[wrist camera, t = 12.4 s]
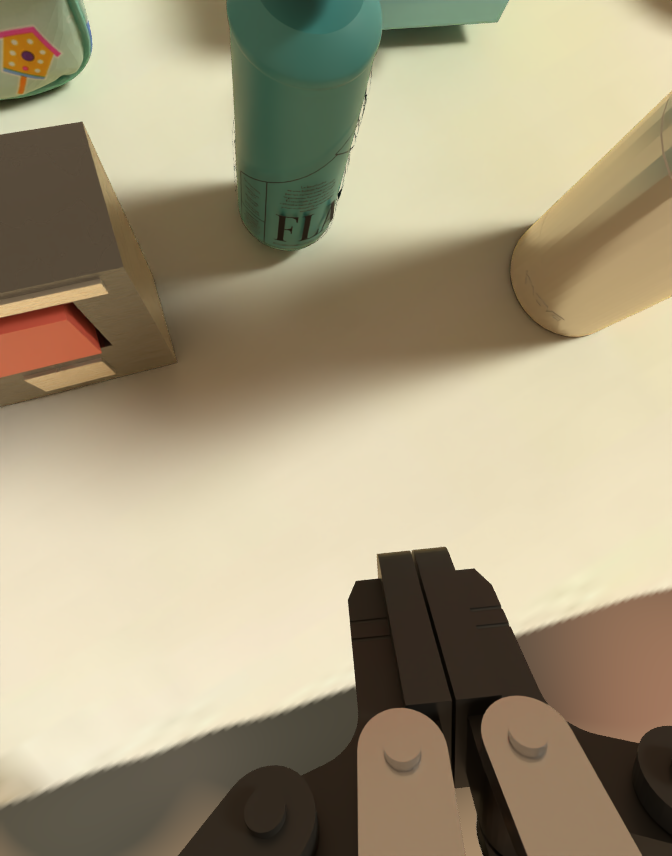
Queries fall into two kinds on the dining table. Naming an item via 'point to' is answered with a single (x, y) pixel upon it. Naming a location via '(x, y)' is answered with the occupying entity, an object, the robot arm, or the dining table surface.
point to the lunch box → (41, 45)
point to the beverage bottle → (297, 109)
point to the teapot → (439, 12)
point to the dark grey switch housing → (73, 260)
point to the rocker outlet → (45, 338)
